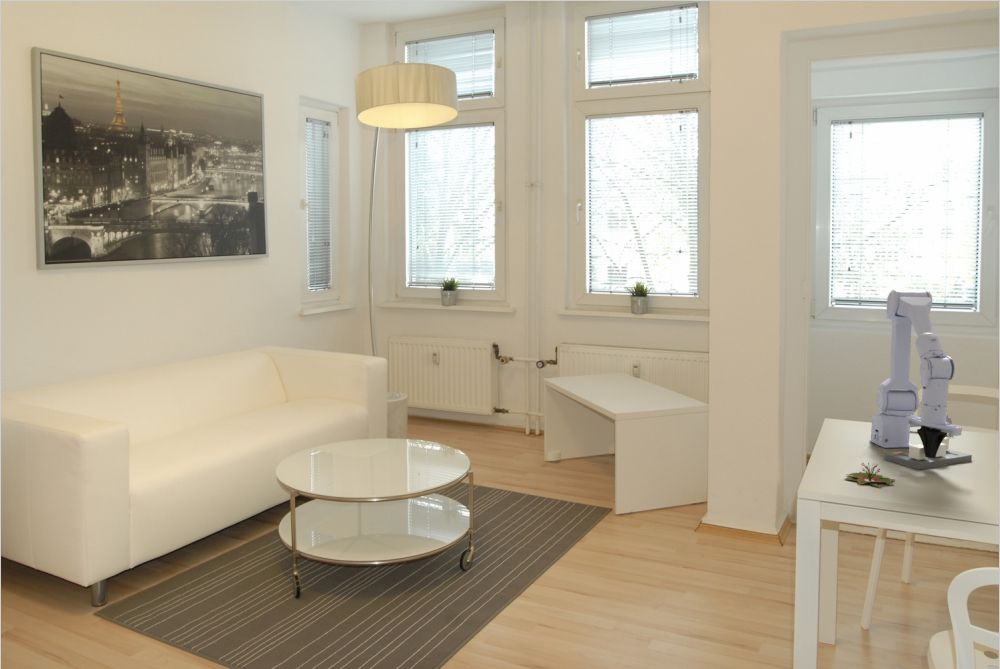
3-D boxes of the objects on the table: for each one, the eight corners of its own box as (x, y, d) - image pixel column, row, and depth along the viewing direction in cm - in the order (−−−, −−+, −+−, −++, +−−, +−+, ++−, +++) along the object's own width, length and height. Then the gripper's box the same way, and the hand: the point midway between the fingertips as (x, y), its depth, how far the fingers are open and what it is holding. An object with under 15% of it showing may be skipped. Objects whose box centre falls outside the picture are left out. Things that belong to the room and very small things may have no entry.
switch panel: (918, 469, 210) (919, 463, 210) (885, 459, 219) (885, 453, 219) (971, 460, 219) (971, 454, 219) (937, 451, 228) (937, 445, 228)
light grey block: (918, 459, 212) (919, 448, 212) (908, 456, 215) (909, 445, 215) (928, 458, 214) (929, 446, 213) (918, 455, 216) (919, 444, 216)
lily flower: (905, 483, 200) (907, 464, 200) (883, 493, 193) (884, 474, 192) (856, 472, 209) (857, 454, 209) (833, 481, 201) (834, 463, 201)
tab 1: (939, 450, 221) (940, 439, 221) (929, 447, 224) (929, 437, 224) (948, 449, 223) (949, 438, 223) (938, 446, 226) (939, 435, 225)
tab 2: (936, 457, 215) (937, 445, 215) (925, 454, 218) (926, 443, 217) (945, 455, 217) (946, 444, 216) (935, 452, 219) (936, 441, 219)
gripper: (971, 408, 205) (967, 462, 206) (920, 397, 218) (916, 448, 220) (952, 411, 202) (947, 465, 204) (901, 400, 215) (897, 451, 217)
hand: (930, 457), depth 211 cm, fingers closed
